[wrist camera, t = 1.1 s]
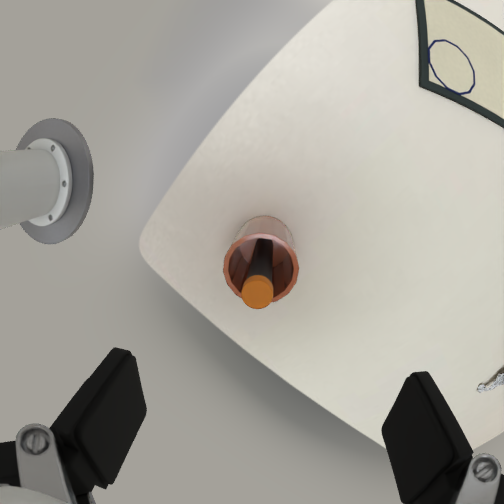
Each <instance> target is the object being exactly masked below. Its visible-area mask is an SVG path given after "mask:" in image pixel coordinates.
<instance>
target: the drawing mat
mask: <svg viewBox="0 0 504 504" xmlns="http://www.w3.org/2000/svg"><path fill="white" fill-rule="evenodd" d="M416 9H417V19H418V34H419V86H420V87H422V88H425V89H427V90H430V91H432V92H434V93H437V94H439V95H441V96H444V97H446V98H448V99H450V100H453V101H455V102H457V103H459V104H461V105H463V106H465V107H467V108H469V109H471V110H473V111H475V112H477V113H479V114H481V115H482V116H484V117H486V118H488V119H490V120H491V121H493V122H495V123H497V124H498V125H500V126H502V127H503V128H504V32H503V31H502V30H501V29H499V28H498V27H496V26H495V25H493V24H492V23H490V22H489V21H487V20H486V19H484V18H483V17H481V16H480V15H478V14H477V13H475V12H473V11H472V10H470V9H468V8H467V7H465V6H463V5H461V4H460V3H458V2H456V1H454V0H416Z"/></svg>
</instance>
